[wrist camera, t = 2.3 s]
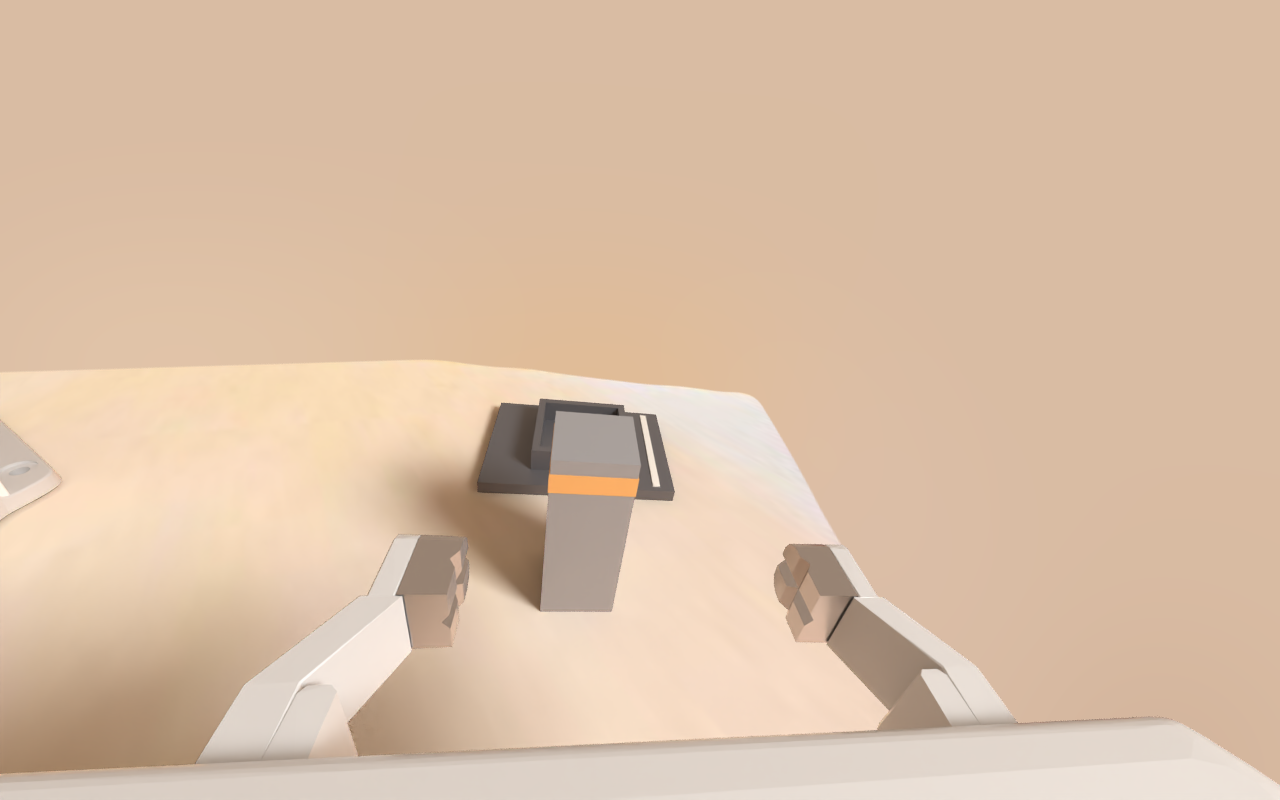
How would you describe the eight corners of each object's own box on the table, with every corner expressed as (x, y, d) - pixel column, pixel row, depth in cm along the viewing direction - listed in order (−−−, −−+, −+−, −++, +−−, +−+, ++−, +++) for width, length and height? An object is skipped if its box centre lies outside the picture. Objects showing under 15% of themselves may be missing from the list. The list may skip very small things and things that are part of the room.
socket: (477, 491, 36) (476, 462, 35) (501, 411, 46) (501, 385, 45) (672, 500, 39) (679, 473, 37) (654, 422, 49) (659, 398, 47)
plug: (539, 611, 28) (549, 460, 22) (544, 552, 32) (555, 410, 26) (612, 612, 29) (641, 466, 23) (609, 554, 33) (633, 416, 27)
